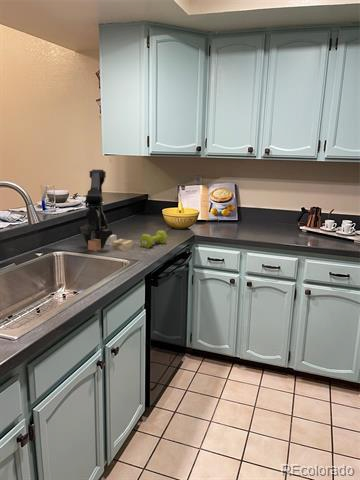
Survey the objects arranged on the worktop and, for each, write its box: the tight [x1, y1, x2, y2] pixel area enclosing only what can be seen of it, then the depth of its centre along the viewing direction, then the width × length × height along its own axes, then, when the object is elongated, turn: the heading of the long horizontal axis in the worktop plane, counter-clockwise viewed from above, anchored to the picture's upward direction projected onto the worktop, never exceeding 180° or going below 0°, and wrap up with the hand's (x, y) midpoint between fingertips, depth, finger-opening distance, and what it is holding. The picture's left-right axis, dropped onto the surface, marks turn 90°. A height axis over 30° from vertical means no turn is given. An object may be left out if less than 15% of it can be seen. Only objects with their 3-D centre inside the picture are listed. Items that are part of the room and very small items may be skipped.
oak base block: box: [111, 238, 134, 252], centre depth 203 cm, size 8×8×4 cm
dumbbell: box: [139, 229, 168, 249], centre depth 211 cm, size 16×8×7 cm, turn 144°
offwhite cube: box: [104, 234, 118, 247], centre depth 211 cm, size 5×5×5 cm
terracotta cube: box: [87, 238, 102, 252], centre depth 199 cm, size 5×5×5 cm
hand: (95, 247), depth 200 cm, fingers open, 9 cm apart
